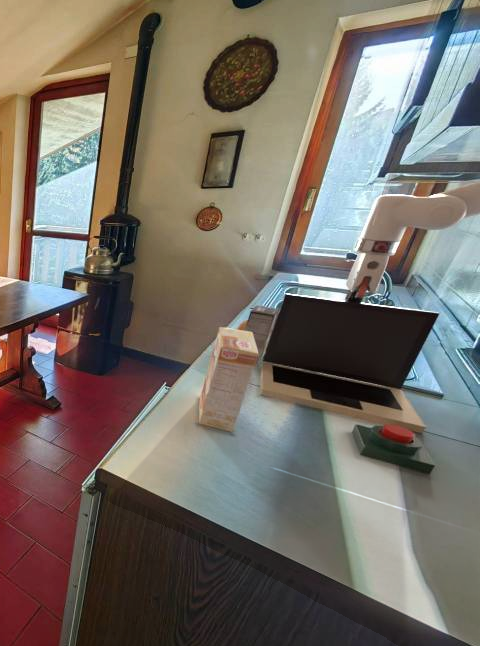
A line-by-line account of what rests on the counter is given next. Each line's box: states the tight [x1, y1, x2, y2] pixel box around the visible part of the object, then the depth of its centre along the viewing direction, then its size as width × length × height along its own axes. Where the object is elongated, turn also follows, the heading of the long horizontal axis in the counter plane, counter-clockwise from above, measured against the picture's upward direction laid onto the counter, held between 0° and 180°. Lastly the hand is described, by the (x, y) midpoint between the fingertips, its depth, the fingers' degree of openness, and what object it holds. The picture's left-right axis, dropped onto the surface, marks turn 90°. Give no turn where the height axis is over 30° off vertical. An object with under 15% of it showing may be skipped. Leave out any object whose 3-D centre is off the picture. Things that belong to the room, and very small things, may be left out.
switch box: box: [351, 423, 436, 475], centre depth 80 cm, size 10×10×4 cm
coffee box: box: [245, 305, 280, 365], centre depth 122 cm, size 9×6×16 cm
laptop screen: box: [262, 293, 440, 390], centre depth 106 cm, size 21×30×1 cm
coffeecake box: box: [198, 326, 259, 433], centre depth 90 cm, size 15×7×20 cm, turn 150°
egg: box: [236, 319, 248, 331], centre depth 133 cm, size 7×7×9 cm
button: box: [381, 424, 416, 443], centre depth 79 cm, size 4×4×2 cm
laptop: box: [259, 361, 427, 434], centre depth 102 cm, size 21×30×2 cm
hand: (346, 315), depth 106 cm, fingers closed
